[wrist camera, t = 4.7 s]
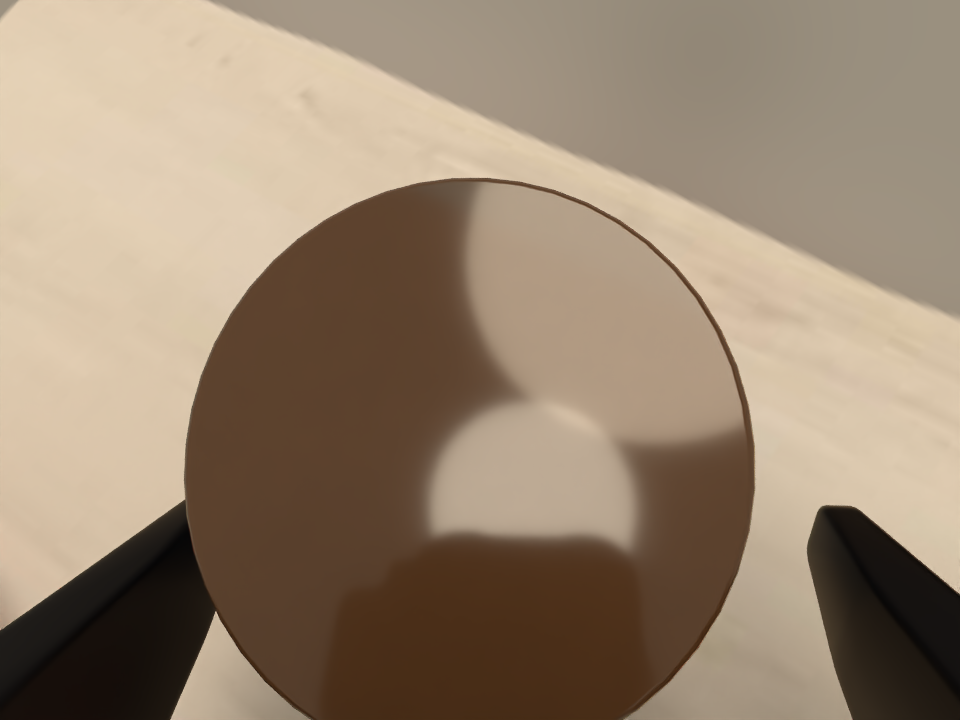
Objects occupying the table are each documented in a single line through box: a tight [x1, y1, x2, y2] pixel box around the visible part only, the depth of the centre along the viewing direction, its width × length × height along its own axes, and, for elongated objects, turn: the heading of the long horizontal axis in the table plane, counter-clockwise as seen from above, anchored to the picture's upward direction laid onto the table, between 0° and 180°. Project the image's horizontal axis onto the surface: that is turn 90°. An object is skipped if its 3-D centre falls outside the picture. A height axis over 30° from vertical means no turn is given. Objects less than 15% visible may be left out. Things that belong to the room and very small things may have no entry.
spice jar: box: [184, 178, 755, 720], centre depth 12 cm, size 6×6×12 cm
